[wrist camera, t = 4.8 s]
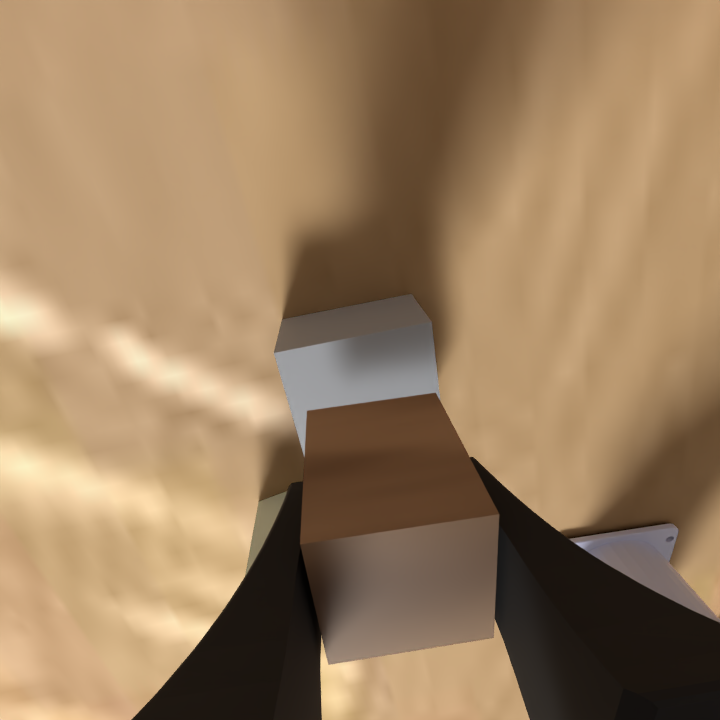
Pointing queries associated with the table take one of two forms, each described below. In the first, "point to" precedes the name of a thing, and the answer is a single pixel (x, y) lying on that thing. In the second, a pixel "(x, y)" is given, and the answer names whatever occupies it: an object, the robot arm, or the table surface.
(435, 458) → the walnut block
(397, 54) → the table surface
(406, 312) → the grey base block
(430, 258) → the table surface
